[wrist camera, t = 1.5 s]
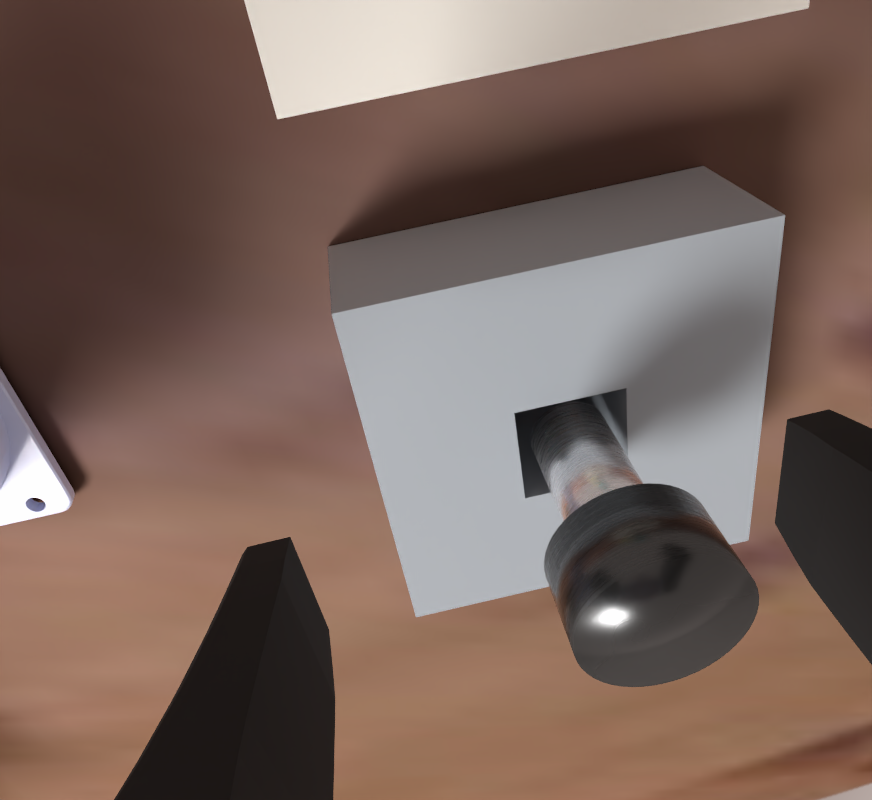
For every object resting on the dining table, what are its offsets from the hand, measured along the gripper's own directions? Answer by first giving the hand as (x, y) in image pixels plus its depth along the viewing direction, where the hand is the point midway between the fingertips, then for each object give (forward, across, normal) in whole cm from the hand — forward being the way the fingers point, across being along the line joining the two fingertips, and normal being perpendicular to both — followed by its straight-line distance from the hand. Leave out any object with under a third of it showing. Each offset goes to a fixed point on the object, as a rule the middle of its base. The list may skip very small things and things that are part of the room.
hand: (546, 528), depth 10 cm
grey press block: (+10, -2, +4) cm, 11 cm away
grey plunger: (+7, -2, +4) cm, 8 cm away
